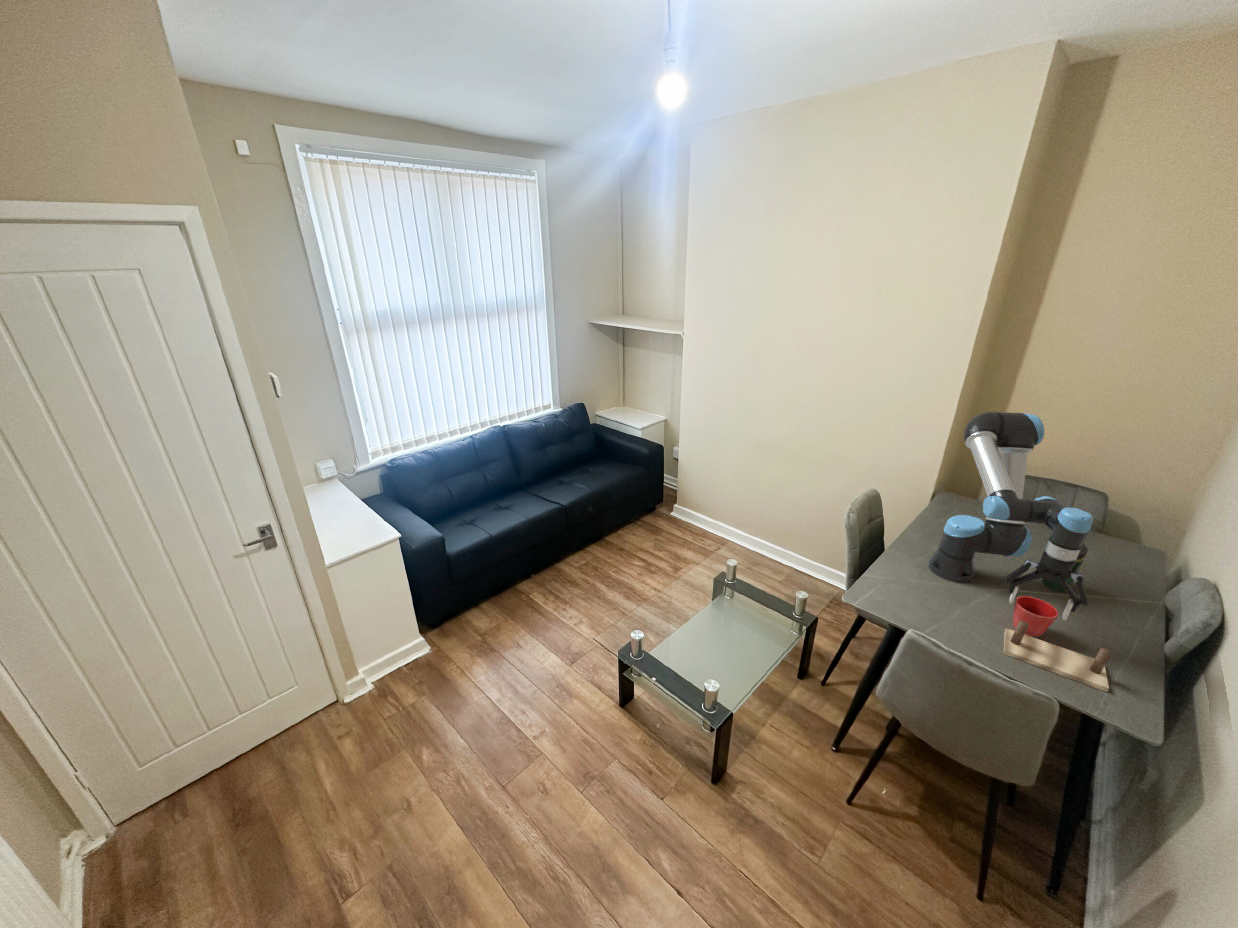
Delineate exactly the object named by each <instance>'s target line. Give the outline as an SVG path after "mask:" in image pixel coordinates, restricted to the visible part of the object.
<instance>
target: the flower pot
mask: <svg viewBox="0 0 1238 928" xmlns="http://www.w3.org/2000/svg"><path fill="white" fill-rule="evenodd" d="M1013 609H1014V610H1013V620H1012V624H1013V627H1014V628H1015V629H1016V627H1017V625H1018V622H1019V621H1024V622H1026V623H1028V627H1027V630H1026V632H1025V635H1027V636H1030V637H1033V638H1039V637H1041V636H1043V634H1044V633H1045V632H1046V631H1047V630H1048V629H1049V628H1050V627H1051V626H1052V624H1053V623H1054V622H1055V621H1056V619H1057V618H1058V617H1059V611H1058V609H1056V608H1055V606H1053V605H1052V604H1050V603H1048V602H1047V601H1045V600H1042V599H1039V598H1036V597H1033V596H1029V595H1028V596H1025V595H1024V596H1018V597H1017V598H1016V599H1015V603H1014V608H1013Z"/></svg>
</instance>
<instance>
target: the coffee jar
mask: <svg viewBox="0 0 1238 928" xmlns="http://www.w3.org/2000/svg"><path fill="white" fill-rule="evenodd" d="M1088 550H1089V549H1088V546H1087V545H1085V543H1083V545H1082V547H1081V550H1080V552H1079V554H1078V557H1077V559H1076V560H1075V564H1074V566H1073V568H1072V570H1071V573H1073V574H1078V573H1079V571H1080V568H1081V566H1082V564H1083V561H1084V560H1085V558H1086V555H1087V553H1088ZM1066 581H1067V583H1068V584H1069V586H1070V587H1071V588H1072V584H1073V582H1074V580H1073V578H1072V577H1071V578H1069V579H1066ZM1041 583H1042V584H1043V585H1045V586H1047V587H1048V588H1049V589H1052V590H1056V591H1058V592H1066V591H1065V589H1064V588H1063V587H1062V585H1061V584H1060V582H1058V583H1057V582H1056V583H1054V582H1051V581H1047V580H1043V578H1041Z"/></svg>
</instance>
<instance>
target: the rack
mask: <svg viewBox="0 0 1238 928" xmlns="http://www.w3.org/2000/svg"><path fill="white" fill-rule="evenodd" d="M1027 627H1028V623H1026V622H1024V621H1019V622H1018V625H1017V627H1016V628H1015V630H1013V629H1010V628H1007V627H1005V629H1004V636H1003V637H1004V638H1003V639H1004V640H1003V641H1004V642H1003V654H1004V655H1005V656H1008V657H1011V658H1014V659H1016V660H1018V661H1022V662H1025V663H1027V664H1029V665H1033V666H1035V667H1038V668H1041V669H1044V670H1047V671H1049V672H1052V673H1053V674H1054V673H1055V674H1056V675H1060V676H1062V677H1065V678H1067V679H1070V680H1073V681H1076V682H1079V683H1082V684H1084V685H1087V686H1089V687H1091V688H1093V689H1094V688H1095V689H1098V690H1100V691H1102V692H1106V693H1108V692H1109V689H1110V685H1109V681H1108V676H1107V671H1106V664H1107V662H1108V661H1109V660H1110V659H1109V658H1110V657H1111V656H1112V654H1113V653H1112V651H1111V650H1109V649H1108V648H1104V647H1101V648H1099V650H1098V652H1097V654H1096V655H1095V658H1094V657H1090V656H1088V655H1085V654H1082V653H1079V652H1077V651H1073V650H1070V649H1068V648H1064V647H1062V646H1058V645H1057V644H1054V643H1050V642H1047V641H1045V640H1041V639H1039V638H1037V637H1032V636H1028V635H1025V632H1026V630H1027Z"/></svg>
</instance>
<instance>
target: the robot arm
mask: <svg viewBox="0 0 1238 928" xmlns="http://www.w3.org/2000/svg"><path fill="white" fill-rule="evenodd" d="M1044 436H1045V427H1044V423H1043V421H1042V420H1041V419H1040V417H1039V416H1038V415H1036V414H1032V413H1025V412H1004V411H1003V412H1002V411H998V412H997V411H985V412H981V413H978V414H977V415H975V416H974V417H972V418H971V419H970V420H969V421H968V423H967V424H966V425H965V427H964V430H963V440H964V443H965V446H966V447H967V448H968V449H970V451H971V454H972V456H973V459H974V462H975V465H976V468H977V470H978V473H979V476H980V478H981V481H982V484H983V486H984V490H985V492H986V495H987V496H986V497H985V499H984V500H983V502H982V507H983V508H982V512H983V515H985V516H986V517H985V518H984V519H985V521H983V520H982V519H981V518H979V517H977V516H976V517H975V516H972V515H967V514H965V515H964V514H958V515H954V516H951V517H950V518H948V519H947V520H946V523H945V525H944V526H943V532H942V536H941V538H940V542H939V545H938V547H937V549H936V550H935V552H933V554H932V555H931V556H930V557H929V560H928V563H927V566H928V568H929V569H930V571H931V572H932V573H933V574H935V575H937V576H939V577H940V578H943V579H946V580H948V581H953V582H959V583H965V582H969V581H971V580H972V579H973V578H974V574H975V565H974V557H975V555H976V554H979V553H980V554H984V555H985V554H986V555H997V556H1003V557H1020V556H1023V555H1024V554H1026V553H1027V552H1028V551H1029V549H1030V546H1031V544H1032V535H1031V534H1032V533H1031V530H1030V529H1029V528H1028V527H1027V526H1026V525H1025V524H1026V523H1032V524H1039V525H1040V524H1041V525H1046V527H1047V528H1049V529H1050V530H1051V533H1050V536H1049V538H1048V541H1047V544H1046V546H1045V548H1044V551H1043V553H1042V556H1041V558H1040V560H1039V562H1037V563H1035V562H1034V561H1033V562H1032V561H1031V559H1026V560H1025V562H1024V564H1022V565H1020V567H1018V568H1016V569H1015V570H1013V571H1012V572H1010V573H1009V574H1007V575H1006V576H1005V582H1006V583H1008V584H1010V585H1009V587H1008V593H1009V594H1010V596H1009V599H1008V600H1009V604H1013V603H1014V600H1015V598H1016V595H1017V593H1018V592H1019V591H1018V590H1019V586H1020V585H1023V584H1026V583H1028V582H1031V581H1034V580H1038V579H1043V580H1047V581H1051V582H1054V583H1056V582H1057V583H1058V582H1060V584H1061V585H1062V587H1063V588H1064V589H1065V591H1064V592H1065V593H1066V594H1067V595H1068V597H1069V599H1068V602H1067V603H1066V606H1065V608H1064V610H1063V612H1062V615H1061V616H1062V620H1063V621H1067V619H1068V618H1069V615H1070V613H1075V612H1076V610H1077V608H1078V607H1079V606H1080V605H1083V606H1088V605H1089V604H1088V598H1087V596H1086V592H1085V588H1084V584H1083V581H1084V577H1083V574H1082V573H1081V572H1080V573H1079V572H1077V574H1073V573H1071V570H1072V568H1073V566H1074V564H1075V560H1076V559H1077V557H1078V554H1079V552H1080V550H1081V547H1082V545H1083V544H1085V540H1086V539H1087V537H1088V536H1089V533H1090V531H1091V530H1092V526H1093V522H1094V517H1093V515H1092V514H1091V513H1090V512H1088V511H1084V510H1082V509H1080V508H1076V507H1066V505H1064V504H1063V502H1060V501H1058V500H1057V499H1055V498H1053V497H1052V496H1048V495H1043V496H1040V497H1036V498H1035V499H1030V498H1029V499H1027V498H1024V488H1025V482H1026V481H1025V478H1026V471H1027V463H1028V455H1029V454H1030V453H1031V452H1033V451H1034V450H1035V449H1034V448H1035V447H1036V446H1037V445H1039V444H1041V443H1042V441H1043V439H1044ZM1034 568H1035V570H1033V571H1032V572H1030V573H1027V574H1024V573H1026V572H1027V571H1029V570H1032V569H1034ZM1021 575H1022V576H1021ZM1071 577H1072V578H1073V582H1075V583H1076V586H1077V590H1078V593H1079V596H1080V598H1079V597H1078V596H1077V594H1076V593H1075V592H1074V591H1073V589H1072V586H1071V587H1070V586H1069V584H1068V583H1067V581H1066V579H1069V578H1071Z"/></svg>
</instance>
